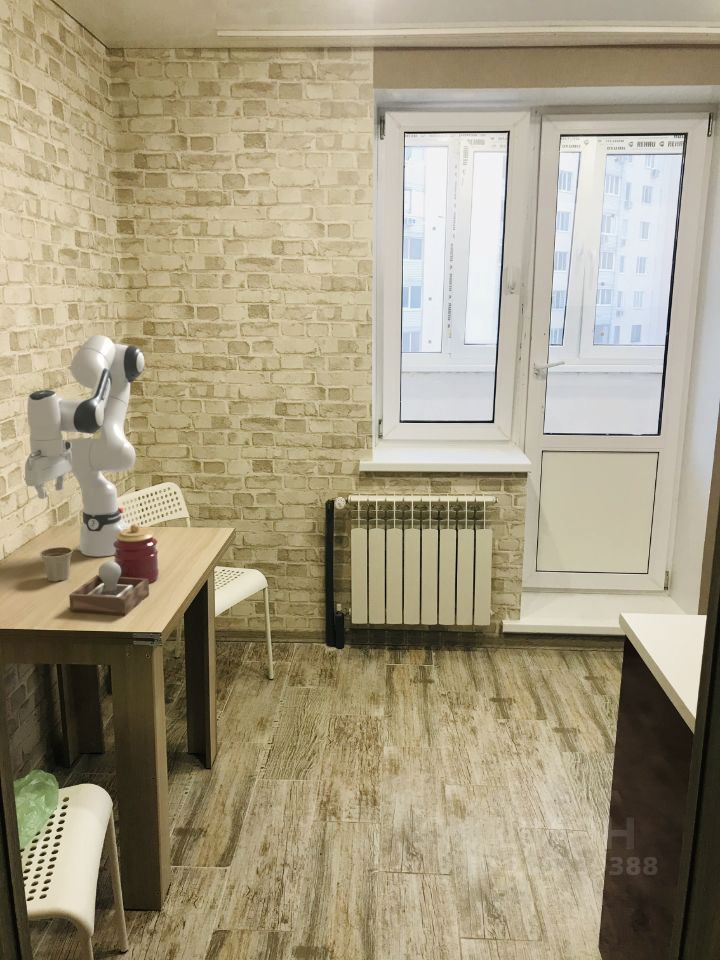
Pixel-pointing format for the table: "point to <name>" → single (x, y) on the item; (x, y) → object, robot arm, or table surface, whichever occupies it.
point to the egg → (110, 576)
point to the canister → (137, 553)
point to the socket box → (109, 596)
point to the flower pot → (57, 563)
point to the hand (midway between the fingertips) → (51, 493)
